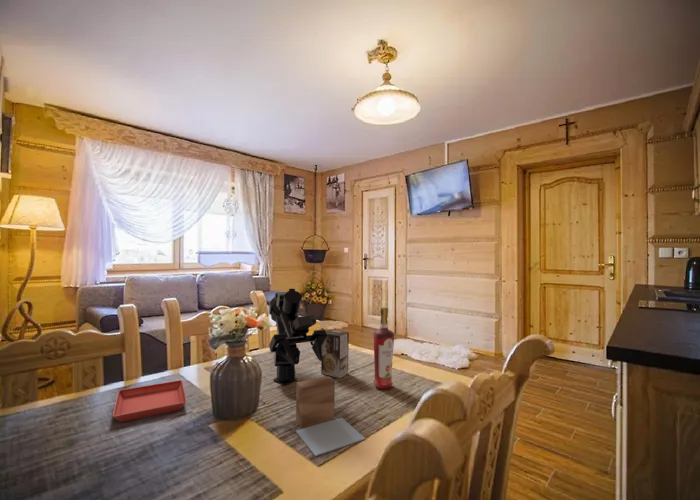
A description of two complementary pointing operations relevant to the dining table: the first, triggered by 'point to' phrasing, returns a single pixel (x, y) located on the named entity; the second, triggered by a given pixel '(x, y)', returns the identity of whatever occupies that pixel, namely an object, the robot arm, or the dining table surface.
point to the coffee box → (335, 354)
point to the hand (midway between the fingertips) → (308, 362)
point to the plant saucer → (149, 400)
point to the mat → (329, 436)
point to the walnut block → (315, 401)
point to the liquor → (383, 353)
